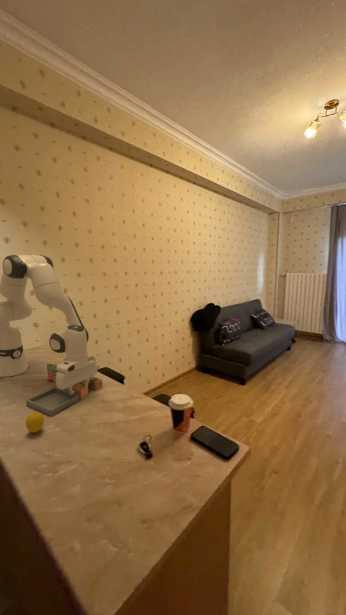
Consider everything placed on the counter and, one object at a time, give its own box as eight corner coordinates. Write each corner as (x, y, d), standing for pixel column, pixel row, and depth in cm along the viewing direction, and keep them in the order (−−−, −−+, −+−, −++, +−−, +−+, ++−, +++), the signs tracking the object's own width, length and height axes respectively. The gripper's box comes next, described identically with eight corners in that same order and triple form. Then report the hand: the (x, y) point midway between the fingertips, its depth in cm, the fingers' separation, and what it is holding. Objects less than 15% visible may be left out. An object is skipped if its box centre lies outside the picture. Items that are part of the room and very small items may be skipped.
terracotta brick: (72, 395, 122) (71, 387, 121) (79, 391, 125) (79, 383, 125) (81, 398, 119) (80, 390, 118) (88, 395, 122) (87, 387, 122)
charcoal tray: (26, 405, 112) (26, 400, 112) (55, 391, 124) (55, 386, 124) (51, 416, 105) (50, 410, 104) (79, 401, 117) (79, 395, 116)
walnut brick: (87, 387, 130) (87, 379, 129) (93, 384, 133) (93, 376, 132) (96, 390, 127) (95, 382, 126) (102, 387, 130) (102, 379, 129)
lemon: (48, 429, 97) (46, 409, 95) (35, 439, 92) (33, 417, 90) (36, 426, 98) (34, 406, 97) (23, 435, 93) (21, 414, 92)
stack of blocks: (47, 381, 136) (46, 358, 134) (55, 376, 142) (53, 353, 140) (86, 385, 132) (85, 361, 130) (92, 379, 138) (91, 357, 136)
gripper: (90, 353, 129) (91, 380, 131) (52, 367, 111) (54, 398, 114) (99, 356, 126) (100, 383, 128) (62, 370, 108) (64, 402, 111)
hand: (78, 390), depth 121 cm, fingers open, 6 cm apart
